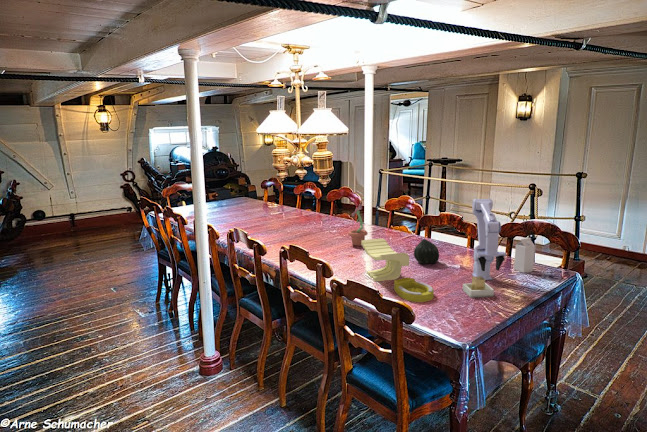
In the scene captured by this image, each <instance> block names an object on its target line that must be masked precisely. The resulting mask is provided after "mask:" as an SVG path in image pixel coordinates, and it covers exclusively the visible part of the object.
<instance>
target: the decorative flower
mask: <svg viewBox="0 0 647 432" xmlns="http://www.w3.org/2000/svg"><path fill="white" fill-rule="evenodd" d="M362 209H363V205H362V203H359V205H358V206H357V207H356V208H355V210H354V211H353V212H352V213H351V217H355V215H357V217H358V218H357V219H356V223H358V222H359V228H358V229H351V230H349V231H348V232H347V234H348V236H349V237H351V244H352V245H353V246H357V247H358V246H359V247H360V246H361V247H362V245H361V240H366V238H365V237H366V236H367V235H369V234H368V231H367V230H365V229H364V226H363V225H365V222H363V218H362V216H361V214H360V213H361V211H360V210H362Z"/></svg>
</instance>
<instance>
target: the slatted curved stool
mask: <svg viewBox="0 0 647 432" xmlns="http://www.w3.org/2000/svg"><path fill="white" fill-rule="evenodd" d="M361 247H362V248H363V249H364V252H366V255H368V256H369V257H370V258H372V260H374V261H385V266H384V267H382V268H379V269H374V270H373V269H372V270H368V271H366V275H367V274H368V275H369V276H370V277H369V276H368V275H367V276H368V277H369V278H370V279H372V278H373V279H372V281H374V282H375V281H377V282H382V281H384V282H385V281H391V280H392V281H393V280H398V279H400V276H401V273H402V267H408V266H410V256H409V254H408V253H407V252H398V253H397V251H395V250H394V249H392V247H391V246H390V245H389V243H388V241H387V240H386V239H384V238H373V239H371V238H370V239H365V240H361Z"/></svg>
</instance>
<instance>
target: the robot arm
mask: <svg viewBox="0 0 647 432" xmlns="http://www.w3.org/2000/svg"><path fill="white" fill-rule="evenodd" d="M493 206H494V203H493V200H492V198H473V199H472V203H471V207H472V214H473V216H475V217H476V225H477V237H478V241H477V242H478V244H477V245H476V246H475V247H474V249H473V260H474V262H473V269H472V273H471V275H472V277H476V276H481V277H483V278H484V279H485V281H486V280H487V281H488V280H490V281H491V280H493V277H492V276H491V275H490V273H491V264H492V263H493V262H494V261H495V270H497V271H498V272H499V271H500V268H501V266H502V264H503V262H504V261H505V260H506V258H505V257H506V256H507V253H506V252H505V251H498V250H499V234H500V233H501V230H502V223H501V221H500V220H497V217H496V215H495V213H493V212H492V210H493Z"/></svg>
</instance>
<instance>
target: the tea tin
mask: <svg viewBox="0 0 647 432" xmlns="http://www.w3.org/2000/svg"><path fill="white" fill-rule="evenodd" d="M471 283H472V290H484V288H485V283H486V280H485V279H484V278H483V277H481V276H476V277H474V276H472V277H471Z"/></svg>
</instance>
